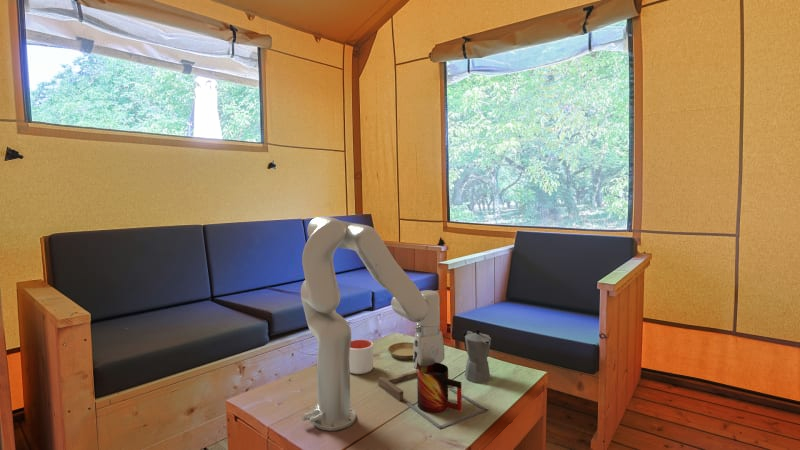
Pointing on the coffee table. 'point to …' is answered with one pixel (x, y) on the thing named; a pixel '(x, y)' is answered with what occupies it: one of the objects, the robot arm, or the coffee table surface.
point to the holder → (391, 388)
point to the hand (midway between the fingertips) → (428, 382)
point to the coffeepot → (477, 356)
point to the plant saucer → (402, 350)
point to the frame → (453, 420)
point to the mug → (436, 389)
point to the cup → (361, 356)
